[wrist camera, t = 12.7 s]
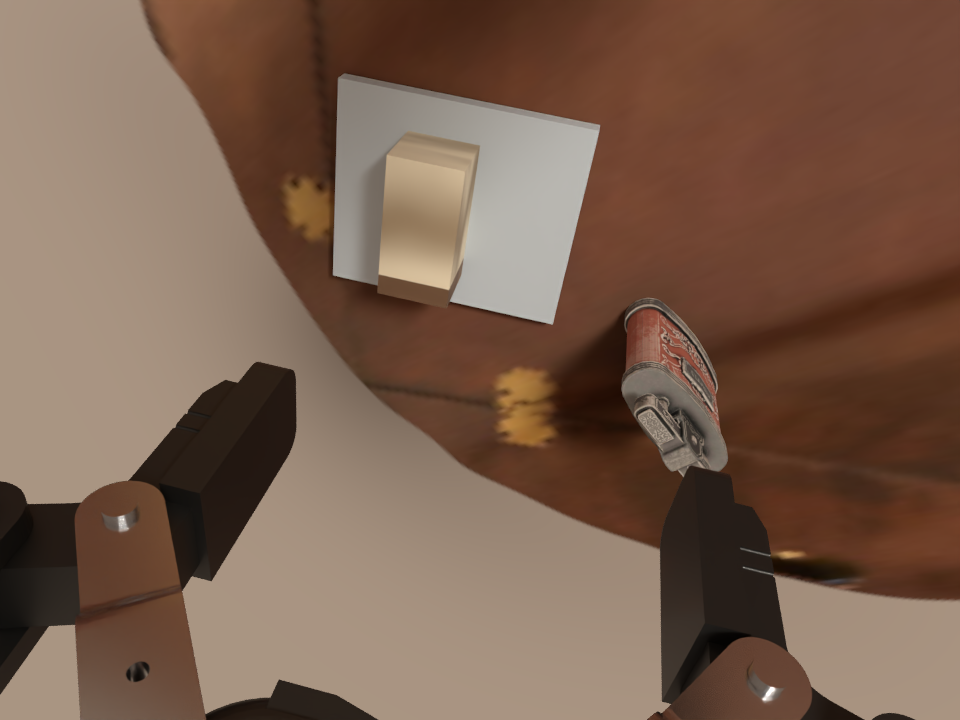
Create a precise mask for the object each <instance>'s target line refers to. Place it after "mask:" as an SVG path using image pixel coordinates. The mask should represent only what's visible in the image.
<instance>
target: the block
mask: <svg viewBox="0 0 960 720" xmlns="http://www.w3.org/2000/svg"><path fill="white" fill-rule="evenodd" d="M479 151H480V146H479V145H475V144H470V143H465V142H460V141H455V140H451V139H446V138H441V137H436V136H431V135H426V134H422V133H417V132H412V131H407V133H406V134H405V135H404V136H403V137H402V138H401V139H400V140H399V142H398V143H397V144H396V145H395V146H394V147H393V148H392V150H391V151H390V152H389V153H388V154H387V158H386V173H385V187H384V202H383V216H382V231H381V246H380V260H379V275H378V289H377V293H379V294H384V295H388V296H393V297H397V298H402V299H406V300H411V301H415V302H420V303H424V304H428V305H433V306H437V307H442V308H446V309H447V306H448V304H449V302H450V300H451V297H452V295H453V293H454V291H455V288H456V286H457V284H458V282H459V279H460V277H461V274H462V267H463V260H464V253H465V246H466V240H467V233H468V226H469V219H470V212H471V205H472V198H473V192H474V185H475V178H476V171H477V164H478V157H479Z"/></svg>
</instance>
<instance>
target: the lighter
mask: <svg viewBox="0 0 960 720" xmlns="http://www.w3.org/2000/svg"><path fill="white" fill-rule="evenodd" d="M624 326H625V330H626V332H627V351H626V372H625V373H624V375H623V378H622V387H621V390H622V394H623V397H624V399H625V401H626V403H627V404H628V406H629V408H630V410H631V412H632V414H633V416H634V418H635V419H636V421H637V422H638V423H639V425H640V426H641V428H642V429H643V431H644V432H645V434H646V435H647V436H648V438H649V439H650V440H651V441H652V442H653V443H654V444H655V445H656V446H657V447H658V450H659V452H660V454H661V457H662V460H663V462H664V463H665V465H666V466H667V467H668V469H669V470H671V471H676V470H678V471H679V472H680V473H681V474H682V476H683V477H684V475H685V473H686V471H687V469H688V467H689V466H691V465H692V466H696V467H700V468H705V469H709V470H713V471H717V472H718V471H720V470H721V469H722V468H723V467H724V466H725V465H726V463H727V460H728V456H727V449H726V444H725V442H724V439H723V437H722V435H721V432H720V425H719V417H718V410H717V402H716V395H715V394H716V392H717V389H718V385H717V378H716V374H715V371H714V369H713V367H712V364H711V362H710V360H709V357H708V355H707V354H706V352H705V350H704V349H703V347H702V345H701V344H700V342H699V341H698V339H697V337H696V336H695V335H694V334H693V332H692V331H691V330H690V329H689V328H688V327H687V325H686V324H685V323H684V322H683V321H682V320H681V318H679V317H678V316H677V315H676V314H675V313H674V312H673V311H672V310H671V309H670V308H668V307H667V306H666V305H665V304H664V303H663V302H661V301H660V300H658V299H654V298H644V299H640V300H638V301H635V302H634V303H633V304H631V305H630V306H629V307H628V309H627V310H626V313H625V317H624Z"/></svg>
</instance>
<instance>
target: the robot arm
mask: <svg viewBox="0 0 960 720" xmlns="http://www.w3.org/2000/svg"><path fill="white" fill-rule="evenodd" d="M295 433H296V378H295V373H294V371H293V370H291V369H287V368H282V367H278V366H274V365H269V364H265V363H261V362H256V363H254V364H253V365H252V366H251V367H250V369H249V370H248V371H247V372H246V374H245V375H244V376H243V377H242V379H241V380H240V381H239V382H238V383H236V382H232V381H228V380H225V381H223V382H221V383H219V384H218V385H216V386H214V387H212V388H211V389H209V390H207V391H205V392H204V393H202V395H201V396H200V397H199V398H198V399H197V400H196V402H195V403H194V404H193V405H192V406H191V408H190V409H189V410H188V413H187V414H185V415H184V416H183V417H182V418H181V419H180V421H179V422H178V423H177V425H176V428H173V429H172V430H171V431H170V432H169V434H168V435H167V436H166V437H165V438H164V439H163V441H162V442H161V443H160V444H159V445H158V447H157V448H156V449H155V450H154V451H153V452H152V454H151V455H150V456H149V457H148V458H147V460H146V461H145V462H144V463H143V464H142V465H141V467H140V468H139V469H138V470H137V472H136V473H135V474H134V475H133V476H132V477H131V479H129V480H128V481H122V482H116V483H112V484H109V485H106V486H104V487H102V488H99V489H98V490H96V491H94V492H93V493H91V494H90V495H89V496H87V497H86V498H85V499H84V500H83V501H82V502H81V503H66V504H27V501H26V498H25V495H24V494H23V492H22V491H21V489H19V488H18V487H17V486H15V485H13V484H10V483H7V482H1V481H0V694H1V693H2V691H3V690H4V689H5V687H6V686H7V684H8V683H9V682H10V680H11V679H12V677H13V676H14V674H15V673H16V671H17V670H18V669H19V667H20V666H21V665H22V663H23V662H24V660H25V659H26V658H27V656H28V655H29V653H30V652H31V650H32V649H33V648H34V646H35V645H36V643H37V642H38V641H39V639H40V638H41V636H42V635H43V634H44V632H45V631H46V629H47V628H48V627H49V626H58V625H75V633H76V651H77V669H78V687H79V705H80V720H377V719H376V718H374V717H373V716H371V715H369V714H368V713H366V712H364V711H362V710H361V709H359V708H357V707H356V706H354V705H352V704H351V703H349V702H347V701H345V700H344V699H342V698H340V697H339V696H337V695H334V694H330V693H326V692H322V691H319V690H315V689H311V688H308V687H304V686H300V685H297V684H293V683H290V682H286V681H282V680H279V681H278V683H277V685H276V687H275V689H274V691H273V694H272V696H271V698H257V699H249V700H245V701H240V702H236V703H232V704H229V705H226V706H223V707H221V708H218V709H216V710H213V711H211V712H209V713H207V714H205V711H204V706H203V700H202V695H201V690H200V684H199V679H198V673H197V668H196V663H195V657H194V652H193V647H192V641H191V636H190V631H189V625H188V620H187V615H186V609H185V604H184V599H183V593H182V591H183V589H184V587H185V586H186V584H187V583H188V581H189V580H190V578H191V577H192V576H194V577H197V578H201V579H205V580H209V581H212V580H213V578H214V576H215V575H216V573H217V571H218V570H219V568H220V566H221V565H222V563H223V561H224V560H225V558H226V557H227V555H228V553H229V552H230V550H231V548H232V547H233V545H234V544H235V542H236V540H237V539H238V537H239V535H240V534H241V532H242V531H243V529H244V527H245V526H246V524H247V522H248V521H249V519H250V517H251V516H252V514H253V513H254V511H255V509H256V508H257V506H258V504H259V503H260V501H261V499H262V498H263V496H264V495H265V493H266V491H267V490H268V488H269V486H270V485H271V483H272V481H273V480H274V478H275V477H276V475H277V473H278V472H279V470H280V468H281V467H282V465H283V463H284V462H285V460H286V459H287V457H288V455H289V453H290V450H291V448H292V446H293V442H294V439H295ZM770 554H771V553H770V547H769V541H768V535H767V530H766V529H765V527H764V525H763V524H762V522H761V521H760V519H759V517H758V516H757V514H756V513H755V511H754V509H753V508H752V507H749V506H745V505H741V504H736V503H735V502H734V495H733V487H732V480H731V477H730V475H729V474H726V473H721V472H717V471H713V470H709V469H705V468H700V467H696V466H692V465H691V466H689V467H688V469H687V471H686V473H685V475H684V477H683V480H682V482H681V484H680V486H679V489H678V491H677V493H676V496H675V498H674V500H673V503H672V505H671V507H670V510H669V512H668V514H667V517H666V519H665V523H664V526H663V530H662V536H661V543H660V570H661V572H660V576H661V577H660V578H661V656H662V657H661V659H662V660H661V663H662V702H666V703H670V704H671V705H670V706H669V707H668V708H667V709H666V710H665V711H664V712H663V713H660V712H656V713H654V714H653V715H652V716H651V717H650V718H648V719H647V720H864V719H862V718H860V717H858V716H857V715H855V714H853V713H851V712H849V711H847V710H846V709H844V708H842V707H840V706H839V705H837V704H835V703H833V702H832V701H830V700H828V699H827V698H825V697H823V696H822V695H821V694H819V693H818V692H817V691H816V690H814V689H813V688H812V687H811V685H810V682H809V679H808V677H807V675H806V673H805V671H804V670H803V668H802V666H801V665H800V664H799V663H798V662H797V660H796V659H795V658H794V657H793V656H792V655H791V654H790V653H789V652H788V650H787V647H786V641H785V635H784V629H783V623H782V617H781V612H780V605H779V600H778V594H777V588H776V582H775V578H774V577H773V574H774V570H773V565H772V559H771V558H770ZM872 720H914V719H912V718H910V717H907V716H904V715H900V714H895V713H886V714H881V715H878V716H876V717H875V718H873V719H872Z"/></svg>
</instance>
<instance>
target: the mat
mask: <svg viewBox="0 0 960 720" xmlns="http://www.w3.org/2000/svg"><path fill="white" fill-rule="evenodd" d="M599 130H600V125H597V124H592V123H587V122H582V121H577V120H572V119H567V118H562V117H557V116H553V115H548V114H543V113H538V112H533V111H528V110H523V109H518V108H513V107H508V106H503V105H498V104H493V103H488V102H484V101H479V100H474V99H469V98H464V97H459V96H454V95H449V94H444V93H439V92H434V91H429V90H424V89H419V88H415V87H410V86H405V85H400V84H395V83H390V82H385V81H380V80H375V79H370V78H365V77H360V76H355V75H350V74H346V73H344V74H343V75H341V76H340V77H338V99H337V138H336V176H335V215H334V253H333V276H338V277H342V278H347V279H351V280H356V281H360V282H365V283H369V284H374V285H378V275H379V260H380V246H381V231H382V216H383V202H384V187H385V173H386V158H387V154H388V153H389V152H390V151H391V150H392V148H393V147H394V146H395V145H396V144H397V143H398V142H399V140H400V139H401V138H402V137H403V136H404V135H405V134H406V133H407V131H412V132H417V133H422V134H426V135H431V136H436V137H441V138H446V139H451V140H455V141H460V142H465V143H470V144H475V145H479V146H480V151H479V157H478V164H477V171H476V178H475V185H474V192H473V198H472V205H471V212H470V219H469V226H468V233H467V240H466V246H465V253H464V260H463V267H462V274H461V277H460V279H459V282H458V284H457V286H456V288H455V291H454V293H453V295H452V297H451V300H450V302H454V303H459V304H463V305H468V306H472V307H477V308H481V309H486V310H490V311H495V312H499V313H504V314H508V315H513V316H517V317H522V318H526V319H531V320H535V321H540V322H544V323H549V324H553V321H554V316H555V312H556V308H557V304H558V300H559V296H560V292H561V288H562V283H563V279H564V275H565V271H566V267H567V263H568V259H569V254H570V250H571V246H572V242H573V238H574V234H575V230H576V225H577V221H578V217H579V213H580V209H581V205H582V201H583V196H584V192H585V188H586V184H587V180H588V176H589V172H590V168H591V163H592V159H593V155H594V151H595V147H596V143H597V139H598V134H599Z"/></svg>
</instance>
